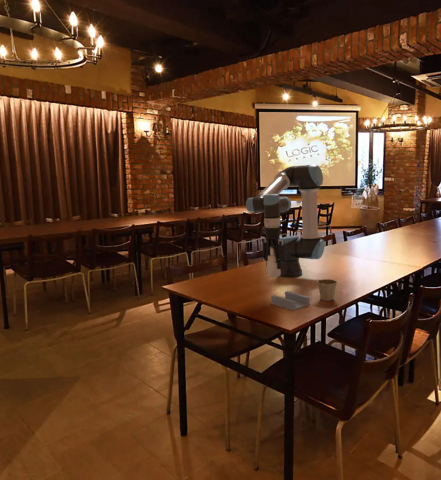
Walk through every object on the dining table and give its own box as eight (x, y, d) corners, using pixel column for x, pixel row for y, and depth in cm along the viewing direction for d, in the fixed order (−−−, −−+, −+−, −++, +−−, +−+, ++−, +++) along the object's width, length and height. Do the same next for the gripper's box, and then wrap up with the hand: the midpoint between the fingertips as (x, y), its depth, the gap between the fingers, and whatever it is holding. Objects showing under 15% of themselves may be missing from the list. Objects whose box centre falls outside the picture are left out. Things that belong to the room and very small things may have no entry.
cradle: (271, 303, 186) (270, 295, 185) (287, 298, 192) (287, 290, 192) (292, 310, 175) (292, 302, 174) (309, 304, 181) (309, 296, 180)
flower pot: (333, 295, 193) (333, 278, 192) (340, 301, 184) (340, 283, 182) (314, 296, 193) (314, 279, 191) (320, 302, 183) (320, 284, 182)
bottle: (266, 276, 191) (265, 246, 188) (273, 274, 194) (273, 244, 191) (273, 277, 186) (272, 247, 184) (281, 275, 189) (280, 246, 187)
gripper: (253, 226, 191) (255, 272, 195) (280, 229, 177) (281, 279, 180) (265, 224, 196) (266, 270, 199) (292, 227, 181) (293, 276, 185)
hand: (273, 274), depth 190 cm, fingers closed on bottle, 5 cm apart
